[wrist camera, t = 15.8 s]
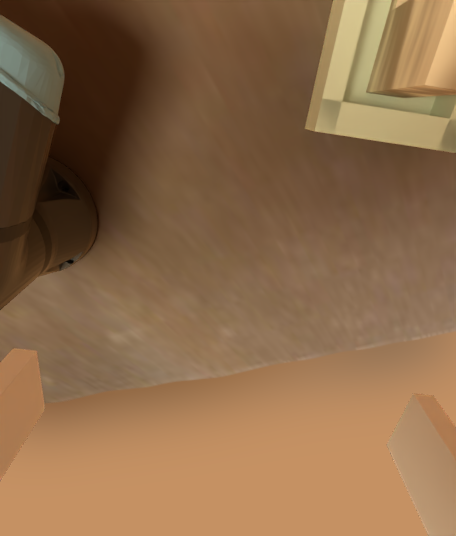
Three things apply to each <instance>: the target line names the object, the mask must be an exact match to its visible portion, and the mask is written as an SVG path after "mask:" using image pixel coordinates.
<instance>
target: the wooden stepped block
mask: <svg viewBox="0 0 456 536" xmlns="http://www.w3.org/2000/svg"><path fill="white" fill-rule="evenodd" d="M366 93H373V94H379V95H385V96H391V97H398V98H412V97H427V96H443V95H456V0H392V2H391V5H390V9H389V12H388V16H387V19H386V23H385V27H384V30H383V34H382V37H381V41H380V44H379V48H378V51H377V55H376V58H375V62H374V65H373V69H372V73H371V76H370V80H369V83H368V87H367V90H366Z"/></svg>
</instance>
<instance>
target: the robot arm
mask: <svg viewBox="0 0 456 536" xmlns="http://www.w3.org/2000/svg"><path fill="white" fill-rule="evenodd" d="M64 79H65V74H64V69H63V65H62V63H61V61H60V59H59V57H58V56H57V54H56V53H55V52H54V50H53V49H52V48H51V47H50V46H48V45H47V44H46V43H44V42H43V41H41V40H40V39H38V38H37V37H35V36H34V35H32V34H31V33H29V32H27V31H26V30H24V29H23V28H21V27H20V26H18V25H16V24H15V23H13V22H12V21H10V20H8V19H7V18H5V17H4V16H2V15H0V310H1V309H2V308H3V307H4V306H5V305H7V304H8V303H9V302H10V301H11V300H12V299H13V298H14V297H16V296H17V295H18V294H19V293H20V292H21V291H22V290H23V289H25V288H26V287H27V286H28V285H29V284H30V283H31V282H33V281H34V280H35V279H36V278H37V277H38V276H42V275H46V274H50V273H53V272H57V271H61V270H63V269H66V268H68V267H70V266H72V265H73V264H75V263H76V262H77V261H78V260H79V259H81V258H82V257H83V256H84V255H85V254H86V253H87V251H88V250H89V249H90V248H91V246H92V244H93V242H94V240H95V237H96V233H97V226H98V220H97V212H96V208H95V205H94V202H93V199H92V197H91V195H90V193H89V191H88V190H87V188H86V187H85V185H84V184H83V183H82V181H81V180H80V179H79V178H78V177H77V176H76V175H75V174H74V173H73V172H72V171H71V170H70V169H69V168H67V167H66V166H65V165H63V164H61V163H60V162H58V161H56V160H55V159H52V158H50V157H48V154H49V150H50V146H51V142H52V138H53V134H54V130H55V126H56V124H58V125H59V122H60V118H59V116H58V111H59V106H60V100H61V95H62V90H63V85H64ZM44 410H45V406H44V399H43V392H42V385H41V378H40V371H39V364H38V357H37V351H33V350H24V349H15V348H13V349H12V350H11V351H10V353H9V354H8V355H7V356H6V357H5V358H4V359H3V360H2V361H1V362H0V481H1V479H2V477H3V476H4V474H5V473H6V471H7V469H8V468H9V466H10V465H11V463H12V461H13V460H14V458H15V457H16V455H17V453H18V452H19V450H20V448H21V447H22V445H23V444H24V442H25V441H26V439H27V437H28V436H29V434H30V433H31V431H32V429H33V428H34V426H35V424H36V422H37V421H38V420H39V418H40V416H41V414H42V413H43V412H44ZM387 447H388V449H389V451H390V454H391V456H392V458H393V460H394V462H395V464H396V467H397V469H398V471H399V473H400V475H401V477H402V479H403V482H404V484H405V486H406V488H407V490H408V493H409V495H410V497H411V499H412V501H413V503H414V506H415V507H416V510H417V512H418V514H419V516H420V519H421V521H422V523H423V525H424V527H425V529H426V532H427V534H428V536H456V427H455V425H454V424H453V423H452V421H451V420H450V418H449V417H448V415H447V414H446V413H445V411H444V410H443V408H442V407H441V405H440V404H439V403H438V401H437V400H436V398H435V397H434V396H432V395H423V394H415V393H413V394H412V396H411V398H410V400H409V402H408V404H407V406H406V408H405V410H404V412H403V414H402V416H401V418H400V419H399V421H398V423H397V425H396V427H395V429H394V431H393V433H392V435H391V437H390V439H389V441H388V443H387Z"/></svg>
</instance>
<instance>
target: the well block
mask: <svg viewBox="0 0 456 536" xmlns="http://www.w3.org/2000/svg"><path fill="white" fill-rule="evenodd" d="M391 2H392V0H333V3H332V7H331V12H330V17H329V21H328V26H327V30H326V35H325V39H324V44H323V48H322V53H321V57H320V62H319V66H318V71H317V75H316V80H315V84H314V89H313V93H312V98H311V103H310V107H309V112H308V116H307V121H306V125H305V129H308V130H311V131H315V132H322V133H329V134H335V135H342V136H348V137H355V138H361V139H368V140H374V141H381V142H387V143H394V144H401V145H407V146H414V147H420V148H427V149H433V150H440V151H446V152H453V153H456V95H443V96H427V97H412V98H398V97H391V96H385V95H379V94H373V93H366V90H367V87H368V83H369V80H370V76H371V73H372V69H373V65H374V62H375V58H376V55H377V51H378V48H379V44H380V41H381V37H382V34H383V30H384V27H385V23H386V19H387V16H388V12H389V9H390V5H391Z"/></svg>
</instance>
